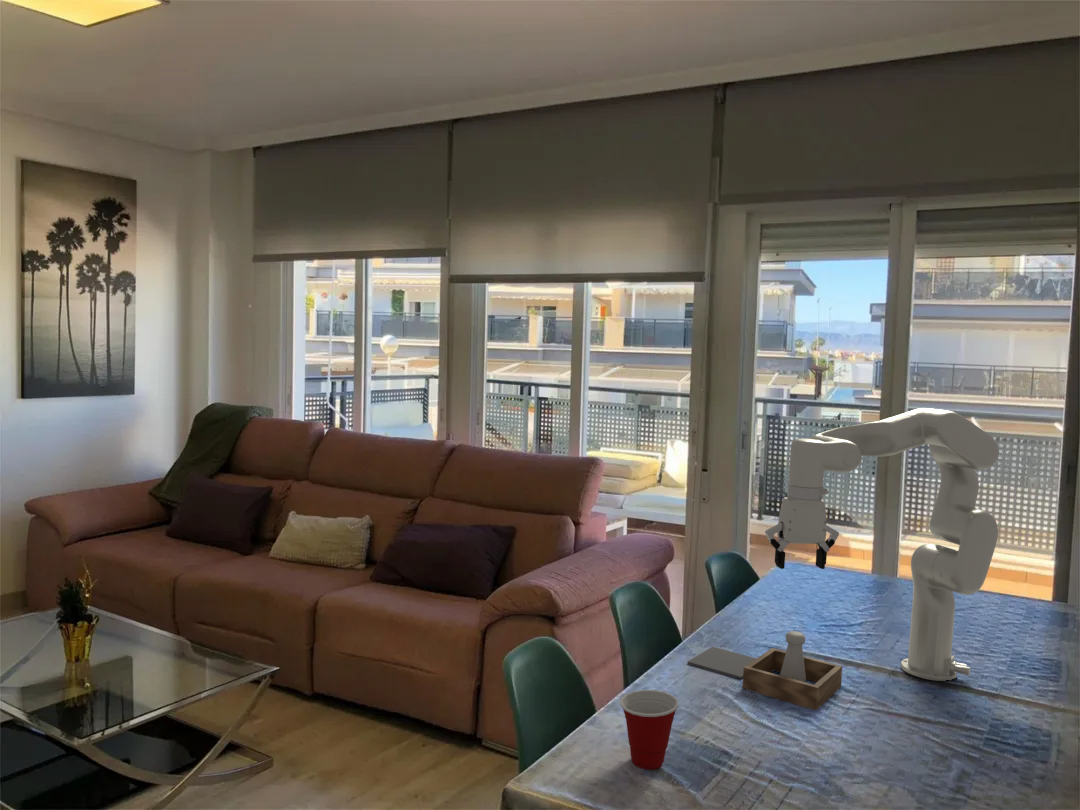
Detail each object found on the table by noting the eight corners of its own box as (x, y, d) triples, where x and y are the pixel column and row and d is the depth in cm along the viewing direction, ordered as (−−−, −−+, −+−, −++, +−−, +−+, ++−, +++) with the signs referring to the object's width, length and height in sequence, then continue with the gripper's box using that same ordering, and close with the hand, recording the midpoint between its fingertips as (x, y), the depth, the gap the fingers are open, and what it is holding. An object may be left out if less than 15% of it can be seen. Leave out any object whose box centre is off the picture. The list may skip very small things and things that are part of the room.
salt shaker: (806, 694, 193) (810, 638, 192) (780, 691, 194) (783, 635, 194) (803, 684, 199) (807, 630, 198) (778, 681, 200) (781, 627, 199)
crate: (840, 686, 198) (842, 666, 198) (816, 710, 185) (817, 688, 185) (770, 667, 209) (772, 647, 208) (742, 688, 195) (743, 667, 195)
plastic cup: (612, 748, 164) (615, 687, 163) (667, 748, 165) (670, 687, 164) (622, 777, 153) (625, 712, 152) (681, 777, 154) (685, 712, 153)
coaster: (764, 662, 212) (764, 660, 212) (741, 679, 201) (741, 676, 200) (712, 648, 220) (712, 646, 220) (687, 663, 209) (687, 661, 209)
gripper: (832, 491, 198) (827, 563, 200) (762, 489, 196) (757, 563, 197) (848, 497, 191) (843, 572, 192) (775, 495, 188) (770, 571, 190)
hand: (800, 567), depth 195 cm, fingers open, 9 cm apart
